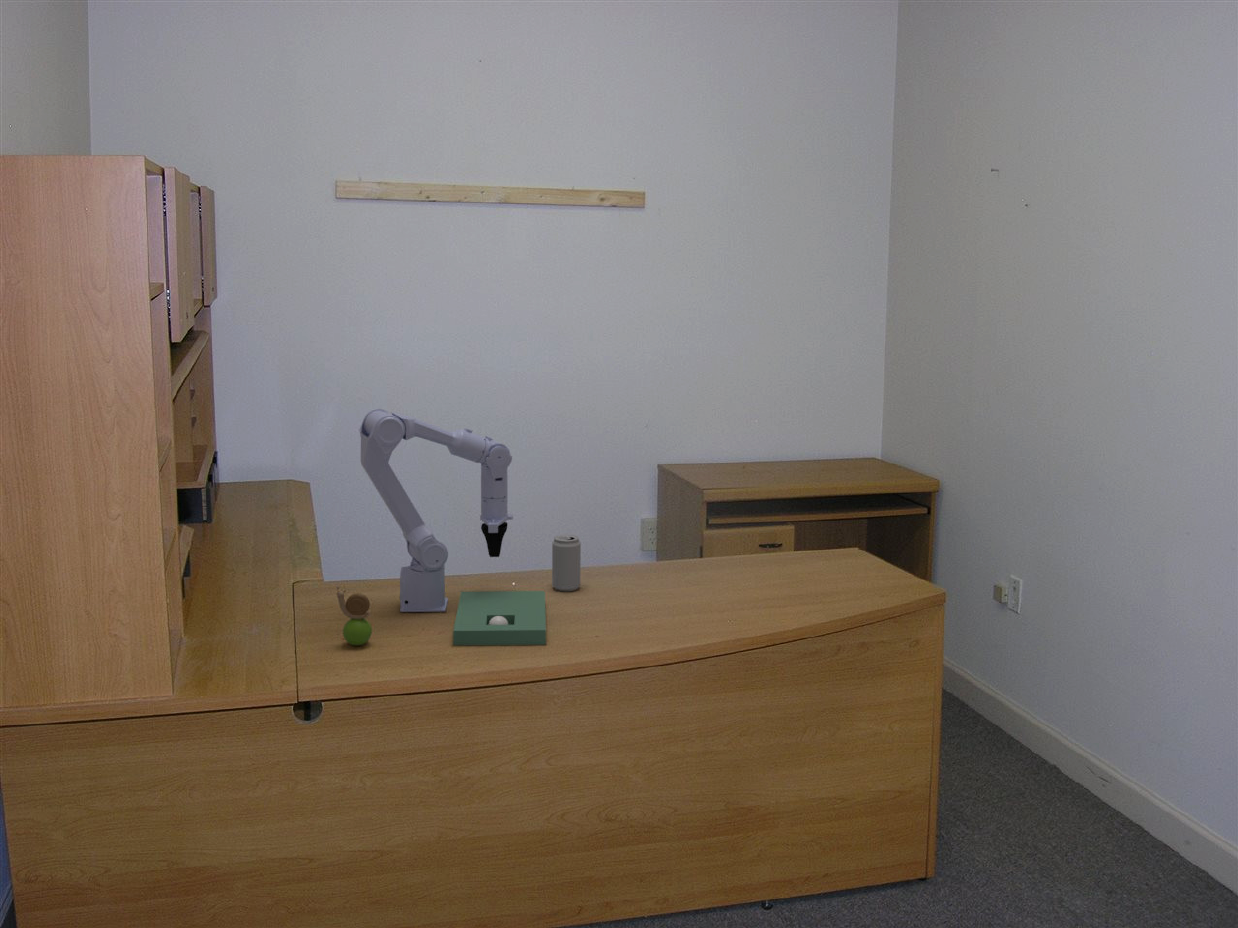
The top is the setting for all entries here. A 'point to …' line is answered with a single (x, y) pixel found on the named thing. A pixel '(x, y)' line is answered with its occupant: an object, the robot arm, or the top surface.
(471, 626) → the putting board
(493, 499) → the robot arm
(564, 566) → the beverage can
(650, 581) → the top surface
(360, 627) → the snail figurine
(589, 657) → the top surface
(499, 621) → the ball
